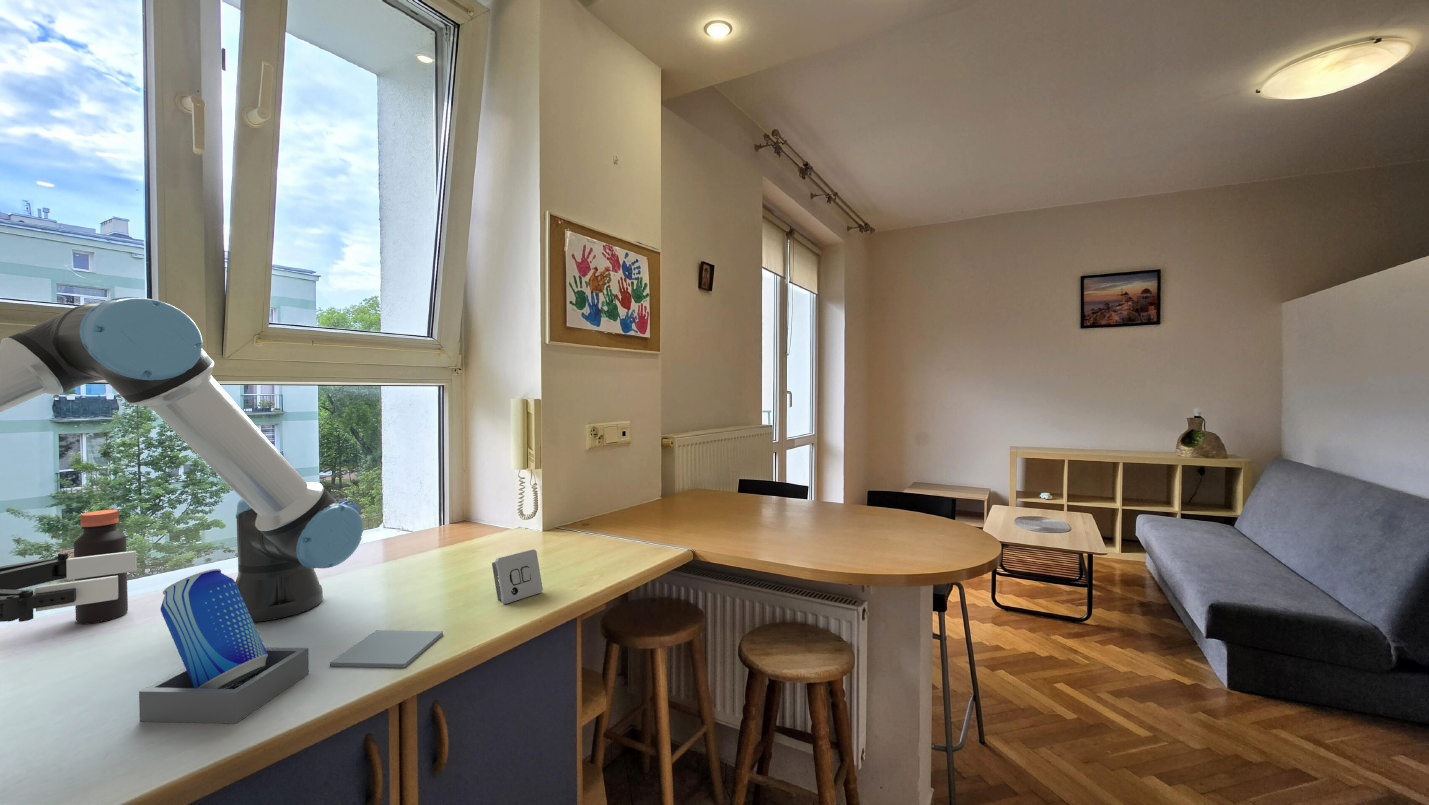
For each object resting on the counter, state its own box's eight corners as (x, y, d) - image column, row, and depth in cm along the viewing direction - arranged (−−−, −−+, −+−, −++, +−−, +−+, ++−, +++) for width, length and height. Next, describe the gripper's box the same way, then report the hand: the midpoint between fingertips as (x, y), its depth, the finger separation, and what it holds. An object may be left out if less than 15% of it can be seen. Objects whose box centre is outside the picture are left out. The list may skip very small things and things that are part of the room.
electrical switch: (503, 606, 116) (501, 559, 117) (490, 602, 120) (487, 557, 120) (543, 593, 124) (541, 549, 124) (529, 590, 127) (527, 547, 127)
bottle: (76, 617, 110) (73, 512, 109) (127, 607, 115) (124, 507, 114) (75, 627, 105) (72, 518, 104) (128, 617, 110) (126, 512, 109)
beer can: (229, 688, 86) (187, 592, 88) (284, 657, 87) (241, 562, 89) (182, 707, 78) (137, 600, 80) (244, 672, 79) (197, 568, 81)
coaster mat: (329, 666, 91) (329, 662, 91) (376, 633, 103) (376, 630, 103) (404, 667, 91) (404, 663, 91) (442, 634, 103) (442, 631, 103)
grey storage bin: (139, 721, 76) (138, 691, 76) (226, 672, 89) (225, 646, 89) (236, 723, 76) (235, 693, 76) (308, 673, 89) (308, 648, 89)
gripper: (-96, 609, 72) (142, 577, 85) (-227, 692, 53) (108, 633, 66) (-97, 549, 72) (142, 526, 85) (-229, 610, 52) (107, 568, 66)
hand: (128, 573), depth 76 cm, fingers open, 13 cm apart
